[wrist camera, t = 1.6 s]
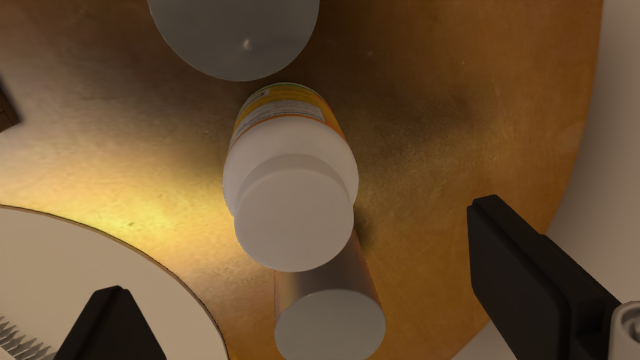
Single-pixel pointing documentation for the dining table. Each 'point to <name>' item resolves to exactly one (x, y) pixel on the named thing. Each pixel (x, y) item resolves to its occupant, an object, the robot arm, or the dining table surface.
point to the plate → (88, 289)
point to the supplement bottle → (290, 179)
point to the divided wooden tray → (6, 114)
